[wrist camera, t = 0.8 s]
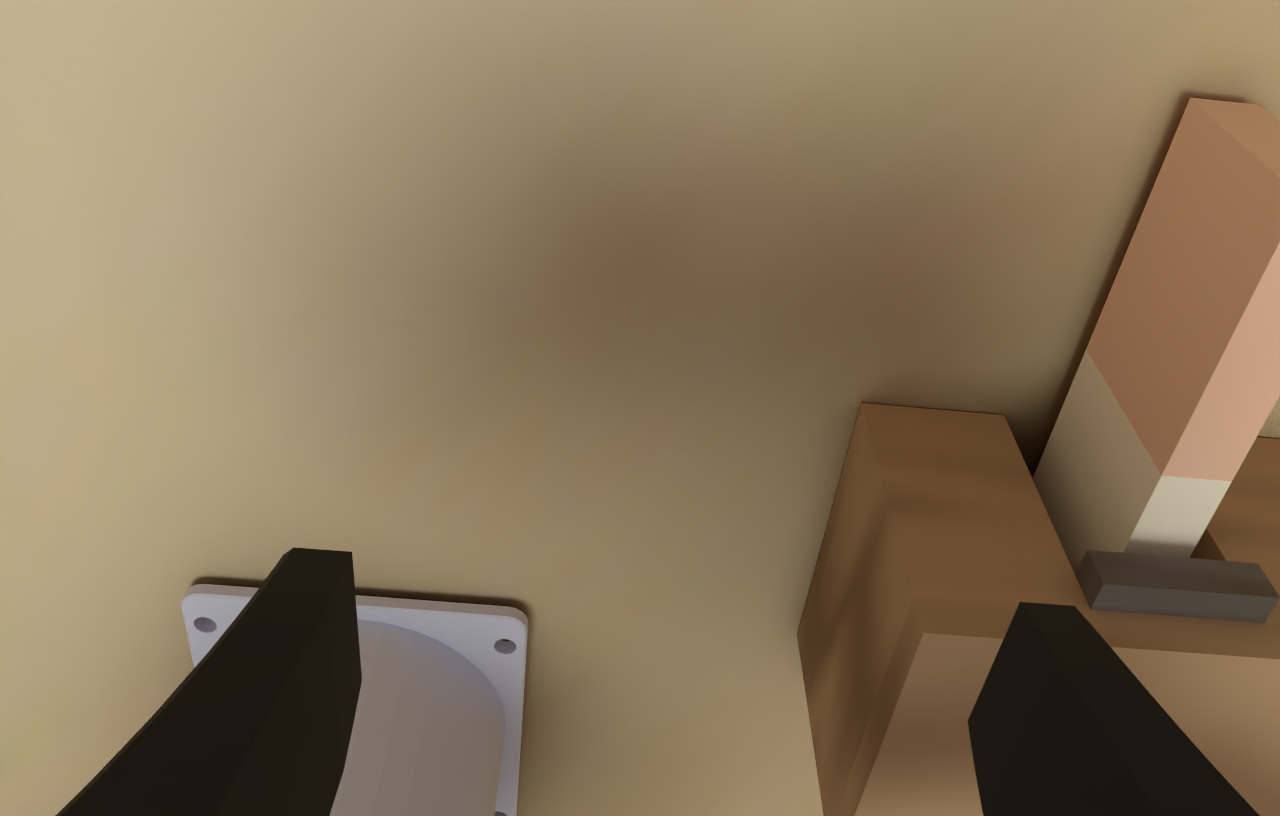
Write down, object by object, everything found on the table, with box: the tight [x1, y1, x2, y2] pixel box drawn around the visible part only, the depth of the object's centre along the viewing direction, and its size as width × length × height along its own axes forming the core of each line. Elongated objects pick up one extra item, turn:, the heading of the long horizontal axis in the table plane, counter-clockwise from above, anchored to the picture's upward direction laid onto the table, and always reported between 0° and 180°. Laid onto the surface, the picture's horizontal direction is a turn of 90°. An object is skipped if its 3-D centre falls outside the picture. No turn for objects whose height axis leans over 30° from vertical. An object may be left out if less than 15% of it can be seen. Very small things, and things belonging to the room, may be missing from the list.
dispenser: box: [797, 403, 1280, 816], centre depth 22 cm, size 8×9×6 cm
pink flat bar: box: [1033, 98, 1280, 574], centre depth 20 cm, size 12×1×4 cm, turn 174°
